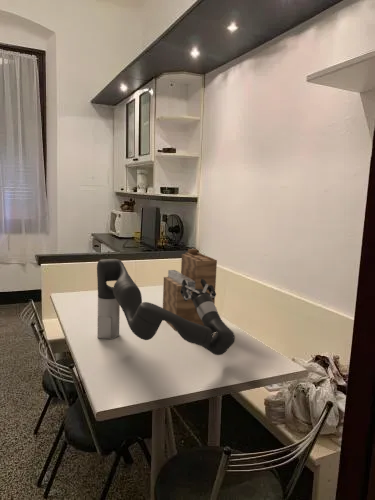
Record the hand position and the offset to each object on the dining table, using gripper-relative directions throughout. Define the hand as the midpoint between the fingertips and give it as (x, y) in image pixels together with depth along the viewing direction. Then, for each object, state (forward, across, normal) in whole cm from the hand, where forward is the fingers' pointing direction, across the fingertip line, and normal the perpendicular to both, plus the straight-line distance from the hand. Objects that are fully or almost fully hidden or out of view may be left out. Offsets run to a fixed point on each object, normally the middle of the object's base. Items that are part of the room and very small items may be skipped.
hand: (192, 280), depth 167 cm
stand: (+2, -6, +30) cm, 31 cm away
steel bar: (+9, 0, +10) cm, 13 cm away
